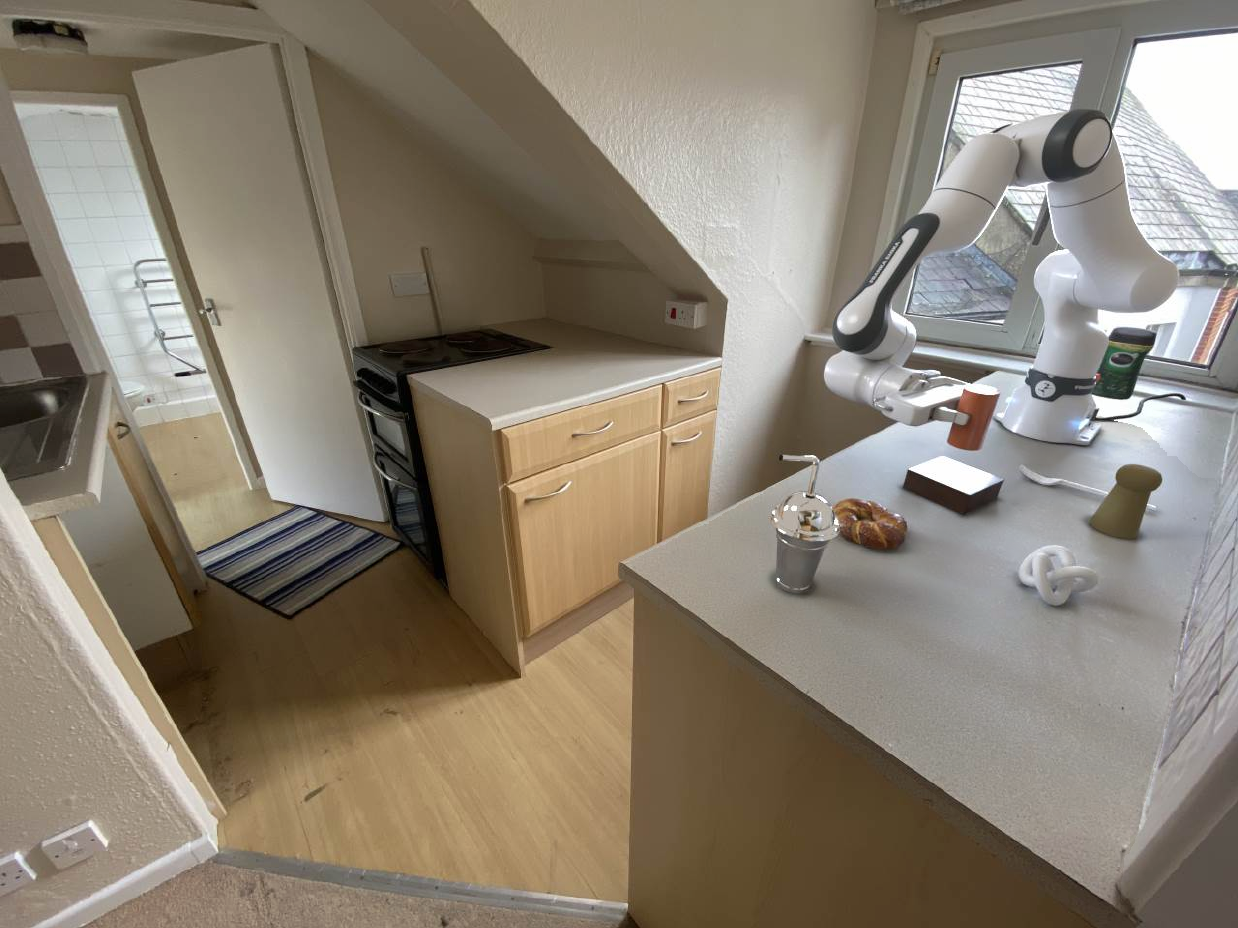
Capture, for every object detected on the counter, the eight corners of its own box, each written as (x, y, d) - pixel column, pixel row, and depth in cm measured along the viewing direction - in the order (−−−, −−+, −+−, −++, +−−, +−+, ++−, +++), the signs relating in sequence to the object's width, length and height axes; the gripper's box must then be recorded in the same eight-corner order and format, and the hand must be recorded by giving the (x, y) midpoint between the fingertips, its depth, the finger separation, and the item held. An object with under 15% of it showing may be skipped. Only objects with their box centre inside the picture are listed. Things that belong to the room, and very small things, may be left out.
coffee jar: (1131, 396, 146) (1162, 328, 137) (1127, 403, 141) (1160, 333, 132) (1086, 388, 152) (1114, 323, 144) (1082, 394, 147) (1110, 327, 139)
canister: (957, 436, 94) (974, 382, 90) (987, 446, 91) (1007, 391, 86) (940, 442, 92) (957, 387, 88) (971, 453, 88) (990, 396, 84)
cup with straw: (830, 607, 68) (864, 469, 59) (758, 598, 69) (781, 462, 60) (820, 567, 75) (848, 439, 67) (755, 560, 77) (775, 433, 68)
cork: (1146, 540, 83) (1181, 479, 78) (1102, 536, 84) (1133, 474, 79) (1122, 520, 88) (1152, 461, 83) (1081, 516, 89) (1108, 457, 84)
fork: (1155, 515, 89) (1160, 505, 89) (1015, 477, 101) (1018, 468, 101) (1155, 508, 92) (1160, 498, 91) (1018, 471, 104) (1021, 463, 103)
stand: (936, 474, 102) (942, 455, 100) (997, 499, 94) (1004, 479, 92) (902, 488, 97) (907, 468, 95) (963, 515, 89) (970, 495, 87)
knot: (1067, 621, 66) (1086, 584, 64) (998, 586, 72) (1013, 551, 70) (1092, 600, 70) (1111, 564, 67) (1025, 568, 76) (1040, 534, 73)
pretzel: (811, 519, 87) (815, 499, 85) (861, 506, 91) (865, 487, 89) (868, 560, 77) (873, 538, 76) (921, 543, 81) (927, 523, 79)
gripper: (871, 385, 92) (949, 409, 82) (937, 368, 102) (1016, 388, 91) (863, 419, 95) (938, 446, 85) (929, 399, 105) (1003, 422, 94)
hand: (979, 416), depth 88 cm, fingers closed on canister, 5 cm apart
